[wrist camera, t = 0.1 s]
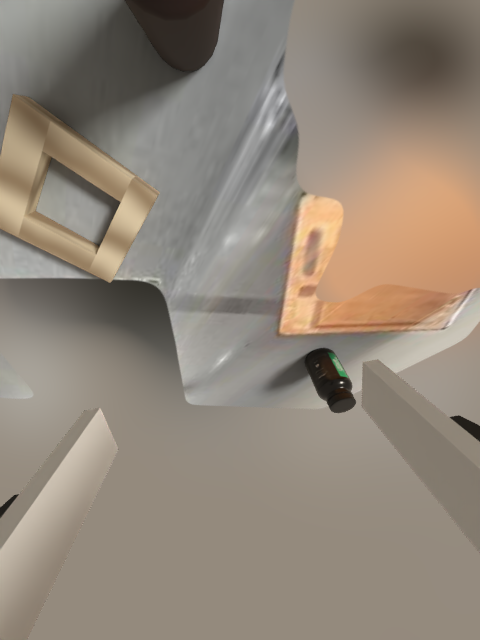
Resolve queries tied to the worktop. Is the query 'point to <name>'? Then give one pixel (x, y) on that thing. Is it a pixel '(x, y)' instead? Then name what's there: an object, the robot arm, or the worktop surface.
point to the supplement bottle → (330, 380)
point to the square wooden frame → (84, 159)
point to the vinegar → (180, 29)
